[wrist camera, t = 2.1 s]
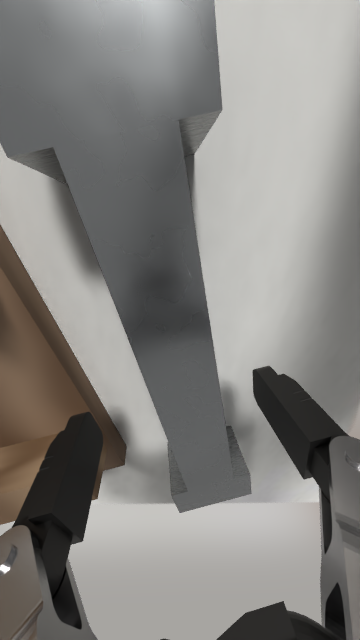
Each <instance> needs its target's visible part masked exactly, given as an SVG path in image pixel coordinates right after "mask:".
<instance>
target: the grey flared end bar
mask: <svg viewBox="0 0 360 640" xmlns="http://www.w3.org/2000/svg"><path fill="white" fill-rule="evenodd" d="M221 111H222V99H221V85H220V72H219V59H218V46H217V33H216V20H215V6H214V0H0V143H1V145H2V147H3V149H4V151H5V153H6V155H7V157H8V158H10V159H12V160H15V161H17V162H19V163H21V164H23V165H26V166H28V167H30V168H32V169H34V170H37V171H39V172H41V173H43V174H45V175H47V176H50V177H52V178H54V179H56V180H58V181H61V182H63V183H67V184H68V186H69V189H70V191H71V194H72V196H73V199H74V202H75V204H76V207H77V209H78V212H79V214H80V217H81V219H82V222H83V225H84V227H85V230H86V232H87V235H88V237H89V240H90V242H91V245H92V248H93V250H94V253H95V255H96V258H97V260H98V263H99V265H100V268H101V271H102V273H103V276H104V278H105V281H106V283H107V286H108V288H109V291H110V294H111V296H112V299H113V301H114V304H115V306H116V309H117V311H118V314H119V317H120V319H121V322H122V324H123V327H124V329H125V332H126V334H127V337H128V339H129V342H130V345H131V347H132V350H133V352H134V355H135V357H136V360H137V362H138V365H139V368H140V370H141V373H142V375H143V378H144V380H145V383H146V385H147V388H148V391H149V393H150V396H151V398H152V401H153V403H154V406H155V408H156V411H157V414H158V416H159V419H160V421H161V424H162V426H163V429H164V431H165V434H166V437H167V439H168V455H169V469H170V482H171V495H172V498H173V500H174V502H175V504H176V506H177V508H178V510H179V512H180V513H182V512H185V511H189V510H193V509H196V508H200V507H204V506H207V505H211V504H215V503H219V502H222V501H226V500H230V499H233V498H237V497H241V496H244V495H248V494H252V493H251V480H250V473H249V471H248V468H247V466H246V463H245V461H244V458H243V456H242V453H241V450H240V448H239V445H238V443H237V440H236V438H235V435H234V433H233V430H232V428H231V426H228V427H226V425H225V418H224V412H223V405H222V399H221V392H220V386H219V379H218V373H217V366H216V360H215V353H214V347H213V340H212V334H211V327H210V321H209V314H208V308H207V301H206V295H205V288H204V282H203V275H202V269H201V262H200V256H199V249H198V243H197V236H196V230H195V223H194V217H193V210H192V204H191V197H190V191H189V184H188V178H187V171H186V165H185V158H184V156H189V155H193V154H195V152H196V151H197V149H198V148H199V146H200V144H201V143H202V141H203V140H204V138H205V137H206V135H207V133H208V132H209V130H210V129H211V127H212V125H213V124H214V122H215V121H216V119H217V118H218V116H219V114H220V113H221Z"/></svg>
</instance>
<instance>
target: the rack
mask: <svg viewBox="0 0 360 640" xmlns="http://www.w3.org/2000/svg"><path fill="white" fill-rule="evenodd" d="M85 412H90V413H91V414H92V416H93V417H94V419H95V421H96V422H97V424H98V426H99V428H100V429H101V431H102V434H103V447H102V452H101V457H100V462H99V466H98V471H97V476H96V481H95V486H94V490H93V495H92V500H95V499H98V494H99V489H100V483H101V478H102V473H103V471H104V470H108V469H112V468H115V467H119V466H123V465H125V455H126V445H125V443H124V441H123V440H122V438H121V436H120V434H119V433H118V431H117V429H116V427H115V426H114V424H113V422H112V420H111V419H110V417H109V415H108V413H107V412H106V410H105V408H104V406H103V405H102V403H101V401H100V399H99V398H98V396H97V394H96V392H95V391H94V389H93V387H92V385H91V383H90V382H89V380H88V378H87V376H86V375H85V373H84V371H83V369H82V368H81V366H80V364H79V362H78V361H77V359H76V357H75V355H74V354H73V352H72V350H71V348H70V347H69V345H68V343H67V341H66V340H65V338H64V336H63V334H62V333H61V331H60V329H59V327H58V326H57V324H56V322H55V320H54V319H53V317H52V315H51V313H50V312H49V310H48V308H47V306H46V305H45V303H44V301H43V299H42V298H41V296H40V294H39V292H38V291H37V289H36V287H35V285H34V284H33V282H32V280H31V278H30V277H29V275H28V273H27V271H26V270H25V268H24V266H23V264H22V263H21V261H20V259H19V257H18V256H17V254H16V252H15V250H14V249H13V247H12V245H11V243H10V242H9V240H8V238H7V236H6V235H5V233H4V231H3V229H2V228H1V226H0V525H1V524H5V523H9V522H12V521H16V519H17V517H18V514H19V512H20V510H21V508H22V506H23V503H24V501H25V499H26V497H27V495H28V492H29V490H30V488H31V486H32V483H33V481H34V479H35V477H36V475H37V472H39V468H40V466H41V464H42V461H43V460H44V459H45V458H44V457H45V455H46V453H47V450H48V448H49V446H50V444H51V443H52V441H53V440H54V439H55V437H56V436H57V435H58V433H59V432H60V431H63V430H65V427H66V425H67V422H68V420H69V418H70V417H71V416H73V415H77V414H81V413H85Z"/></svg>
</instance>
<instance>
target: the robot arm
mask: <svg viewBox="0 0 360 640" xmlns="http://www.w3.org/2000/svg"><path fill="white" fill-rule="evenodd" d="M253 392H254V397H255V400H256V402H257V404H258V406H259V407H260V409H261V411H262V412H263V414H264V415H265V417H266V419H267V420H268V422H269V424H270V425H271V427H272V429H273V430H274V432H275V433H276V435H277V437H278V438H279V440H280V442H281V443H282V445H283V446H284V448H285V450H286V451H287V453H288V455H289V456H290V458H291V459H292V461H293V463H294V464H295V466H296V468H297V469H298V471H299V472H300V474H301V476H302V477H303V479H307V478H311V477H313V478H314V479H315V481H316V482H317V484H318V485H319V503H320V526H321V549H322V560H321V577H320V579H321V580H320V582H321V583H320V585H321V586H320V587H321V615H322V616H321V617H322V626H321V625H320V624H319V623H317V622H315V621H314V620H312V619H310V618H308V617H306V616H304V615H301V614H299V613H296V612H292V611H287V610H286V607H285V604H284V601H282V602H279V603H276V604H273V605H270V606H267V607H263V608H260V609H257V610H254V611H251V612H247V613H245V614H244V615H243V616H242V617H240V618H239V619H238V620H237V621H236V622H235V623H234V624H233V625H232V626H231V627H230V628H229V629H227V630H226V631H225V632H224V633H223V634H222V635H221V636H220V637H219V638H218V639H217V640H360V440H359V439H356V438H354V437H350V436H349V435H347V434H346V433H345V432H344V431H343V430H342V429H341V428H340V427H339V426H338V425H337V424H336V423H335V422H334V421H333V420H332V419H331V417H330V416H329V415H328V414H327V413H326V412H325V411H324V410H323V409H322V408H321V407H320V406H319V405H318V404H317V403H316V402H315V401H314V400H313V399H312V398H311V397H310V395H309V394H308V393H307V392H306V391H304V389H303V388H302V387H301V386H300V385H299V384H298V383H297V382H296V381H295V380H294V379H292V378H290V377H288V376H287V375H285V374H281V375H277V373H276V372H275V371H274V370H273V369H272V368H271V367H270V366H266V367H262V368H258V369H254V370H253ZM102 447H103V434H102V431H101V429H100V428H99V426H98V424H97V422H96V421H95V419H94V417H93V416H92V414H91V413H90V412H85V413H81V414H77V415H73V416H71V417H70V418H69V420H68V422H67V425H66V427H65V430H63V431H60V432H59V433H58V435H57V436H56V437H55V439H54V440H53V441H52V443H51V444H50V446H49V448H48V450H47V453H46V455H45V457H44V458H45V459H44V460H43V461H42V464H41V466H40V468H39V472H37V475H36V477H35V479H34V481H33V483H32V486H31V488H30V490H29V492H28V495H27V497H26V499H25V501H24V503H23V506H22V508H21V510H20V512H19V514H18V517H17V519H16V521H15V523H14V525H13V526H12V528H11V529H9V530H8V531H6V532H5V533H4V534H3V535H1V536H0V640H97V638H96V636H95V635H94V633H93V632H92V630H91V628H90V626H89V623H88V620H87V617H86V614H85V610H84V607H83V604H82V601H81V597H80V594H79V591H78V587H77V584H76V581H75V578H74V575H73V571H72V568H71V565H70V562H69V559H68V554H69V550H70V545H72V544H75V543H78V542H82V541H83V538H84V533H85V528H86V524H87V519H88V514H89V509H90V505H91V500H92V495H93V490H94V486H95V481H96V476H97V471H98V466H99V462H100V457H101V452H102ZM161 640H168V639H161Z"/></svg>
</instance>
